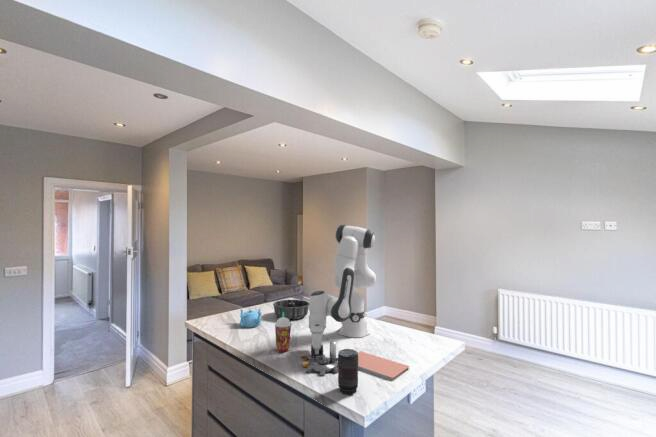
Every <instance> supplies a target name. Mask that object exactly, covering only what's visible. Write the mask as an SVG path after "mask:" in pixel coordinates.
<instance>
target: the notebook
mask: <svg viewBox="0 0 656 437" xmlns="http://www.w3.org/2000/svg"><path fill="white" fill-rule="evenodd" d="M357 352H358V370H359V371H360V372H364V373H366V374H369V375H372V376H375V377H379V378H381V379H383V380H386V381H387V380H388V381H392V382H394V381H395V380H396V379H397V378H399V377H400V376H402V375H403V374H404V373H406V372H408V371H409V370H410V365H408V364H405V363H404V364H403V363H401V362H397V361H394V360H390V359H388V358H385V357H380V356H377V355H374V354H371V353H367V352H364V351H357Z"/></svg>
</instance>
